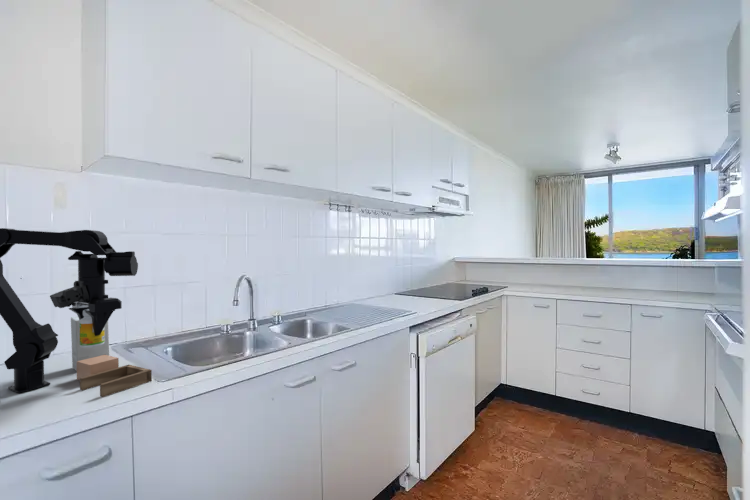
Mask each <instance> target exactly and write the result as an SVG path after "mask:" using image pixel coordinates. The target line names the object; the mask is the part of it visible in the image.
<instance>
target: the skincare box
mask: <svg viewBox="0 0 750 500" xmlns="http://www.w3.org/2000/svg"><path fill="white" fill-rule="evenodd" d="M70 330H71V331H70V332H71V333H70V334H71V364H72V366H71V367H72V369H73V370H75V372H77V361H80V360H85V359H89V358H93V357H97V356H101V355H108V356H110V337H109V335H110V334H109V330H110V329H109V320H108V321H107V323H106V325H105V327H104V330H105V342H104V344H103V345H100V346H97V347H90V348H82V347H80V320H79V317H78V316H73V317H70Z"/></svg>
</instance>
